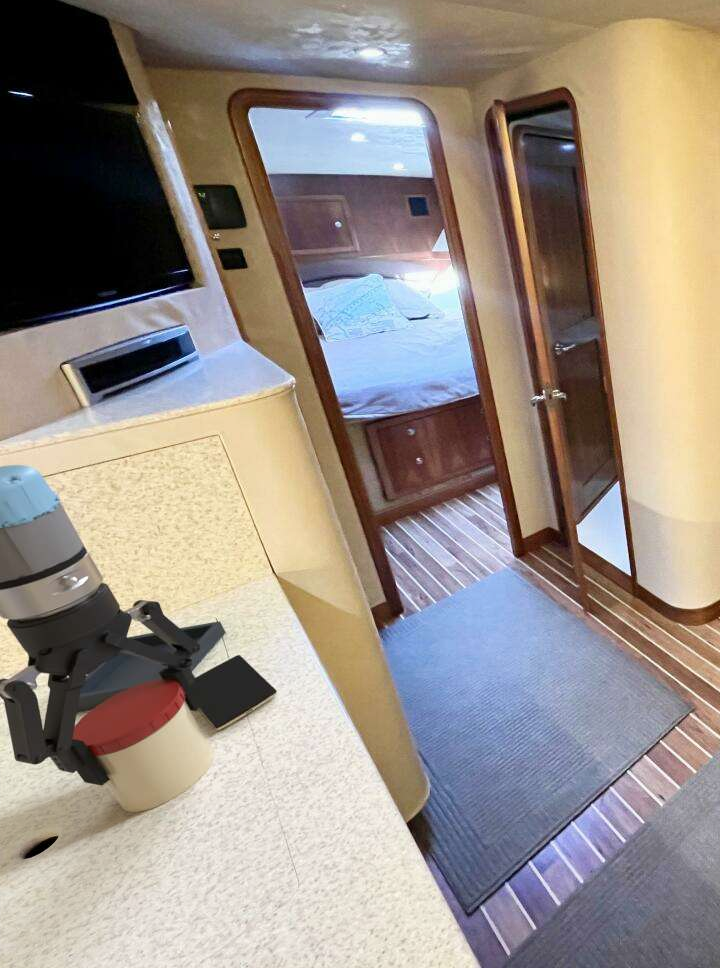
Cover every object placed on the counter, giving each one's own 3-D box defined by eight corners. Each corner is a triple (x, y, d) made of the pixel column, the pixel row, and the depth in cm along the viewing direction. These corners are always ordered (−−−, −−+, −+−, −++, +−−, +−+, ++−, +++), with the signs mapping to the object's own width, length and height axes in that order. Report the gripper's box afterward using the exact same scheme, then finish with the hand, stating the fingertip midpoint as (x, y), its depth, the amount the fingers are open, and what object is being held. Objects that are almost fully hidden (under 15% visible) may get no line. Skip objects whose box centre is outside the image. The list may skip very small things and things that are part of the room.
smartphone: (216, 728, 75) (180, 685, 83) (219, 734, 75) (183, 690, 83) (277, 690, 81) (238, 653, 88) (280, 696, 81) (241, 658, 89)
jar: (100, 821, 65) (51, 755, 61) (153, 754, 73) (114, 692, 69) (186, 801, 67) (145, 736, 62) (229, 738, 75) (195, 676, 71)
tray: (66, 714, 80) (57, 701, 79) (135, 648, 92) (128, 636, 91) (173, 693, 83) (165, 681, 82) (226, 632, 95) (220, 620, 94)
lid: (116, 762, 61) (109, 751, 60) (54, 750, 63) (46, 739, 62) (205, 693, 70) (199, 683, 69) (148, 684, 71) (142, 674, 71)
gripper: (-72, 684, 48) (54, 840, 57) (191, 545, 69) (256, 675, 77) (-129, 675, 50) (3, 829, 58) (146, 541, 70) (214, 669, 78)
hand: (147, 741), depth 68 cm, fingers closed on lid, 9 cm apart
